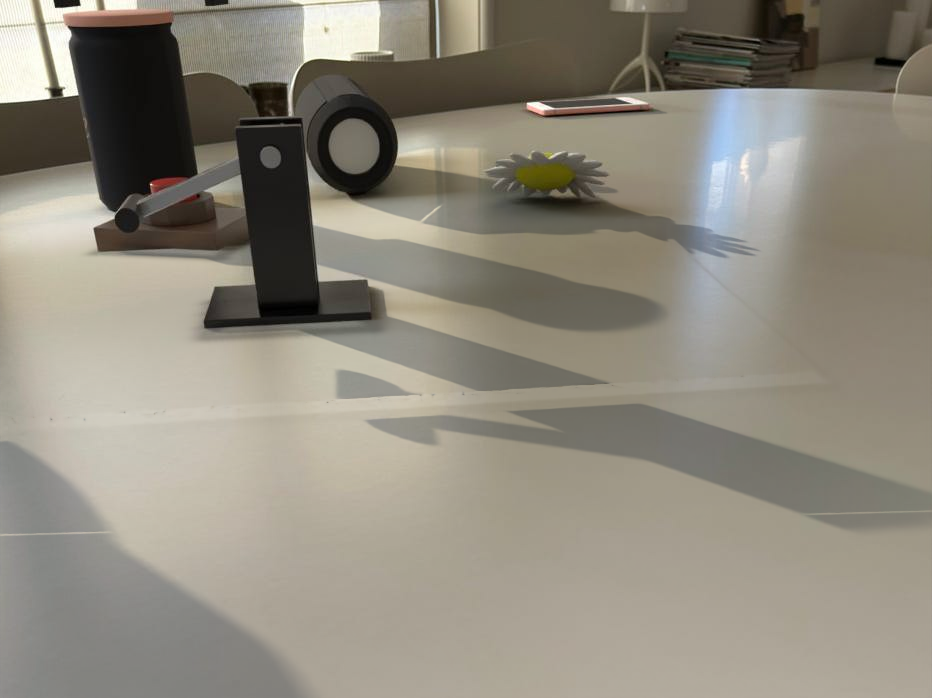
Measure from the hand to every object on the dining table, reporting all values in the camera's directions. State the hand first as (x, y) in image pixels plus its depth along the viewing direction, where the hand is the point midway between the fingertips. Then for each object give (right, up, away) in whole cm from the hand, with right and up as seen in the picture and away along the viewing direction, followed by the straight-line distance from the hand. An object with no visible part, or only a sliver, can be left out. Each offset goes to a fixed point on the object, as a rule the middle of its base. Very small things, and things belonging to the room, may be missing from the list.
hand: (141, 6), depth 87 cm
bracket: (+13, -27, -6) cm, 31 cm away
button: (-1, -11, +12) cm, 16 cm away
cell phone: (+45, +33, +84) cm, 101 cm away
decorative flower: (+34, -2, +31) cm, 47 cm away
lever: (+9, -20, -12) cm, 25 cm away
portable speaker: (+12, +3, +39) cm, 41 cm away
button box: (0, -14, +14) cm, 20 cm away
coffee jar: (-8, -5, +28) cm, 29 cm away
